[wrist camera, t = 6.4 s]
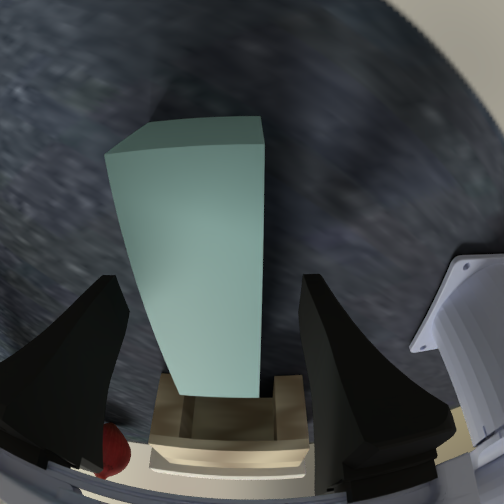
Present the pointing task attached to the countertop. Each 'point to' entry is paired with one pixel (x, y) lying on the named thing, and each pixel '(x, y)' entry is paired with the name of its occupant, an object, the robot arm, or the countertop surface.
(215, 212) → the mint green rectangular prism
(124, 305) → the robot arm
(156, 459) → the wall
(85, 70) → the countertop surface
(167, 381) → the block
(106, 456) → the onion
